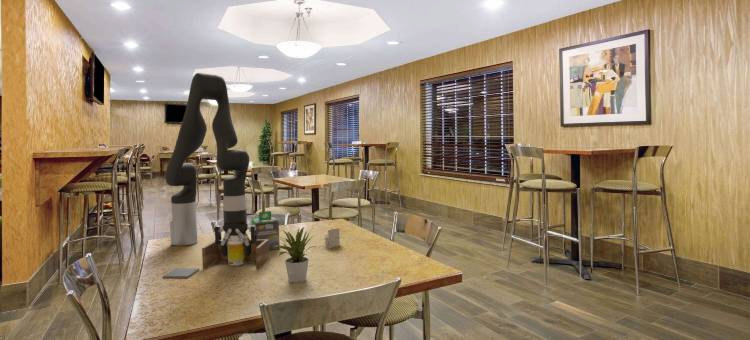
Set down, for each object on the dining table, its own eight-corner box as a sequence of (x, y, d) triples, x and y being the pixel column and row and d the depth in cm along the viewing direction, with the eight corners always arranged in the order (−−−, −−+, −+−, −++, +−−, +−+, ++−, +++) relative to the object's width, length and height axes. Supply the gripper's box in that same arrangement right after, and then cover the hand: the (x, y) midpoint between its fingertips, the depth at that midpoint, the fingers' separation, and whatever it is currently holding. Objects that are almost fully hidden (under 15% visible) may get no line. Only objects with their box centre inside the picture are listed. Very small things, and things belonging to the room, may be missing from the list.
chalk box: (275, 244, 176) (273, 208, 175) (280, 249, 168) (279, 211, 167) (251, 247, 172) (250, 210, 171) (256, 252, 164) (254, 213, 163)
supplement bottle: (246, 265, 148) (245, 235, 147) (229, 267, 146) (228, 237, 145) (243, 260, 153) (242, 232, 152) (227, 263, 151) (226, 234, 150)
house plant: (279, 271, 141) (278, 221, 140) (322, 271, 140) (321, 221, 139) (267, 286, 127) (266, 231, 125) (314, 286, 126) (313, 231, 125)
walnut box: (202, 268, 144) (201, 248, 144) (217, 258, 156) (216, 239, 156) (259, 268, 143) (258, 248, 143) (269, 258, 155) (268, 239, 155)
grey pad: (162, 278, 135) (162, 276, 135) (175, 270, 143) (175, 268, 143) (188, 278, 135) (187, 276, 135) (199, 270, 143) (199, 268, 143)
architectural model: (323, 247, 172) (322, 228, 171) (336, 244, 177) (336, 226, 176) (328, 248, 169) (327, 230, 169) (342, 245, 174) (341, 227, 174)
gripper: (259, 206, 151) (260, 252, 153) (218, 206, 152) (220, 252, 153) (252, 210, 144) (253, 258, 145) (209, 210, 144) (211, 258, 146)
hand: (236, 255), depth 149 cm, fingers open, 7 cm apart
